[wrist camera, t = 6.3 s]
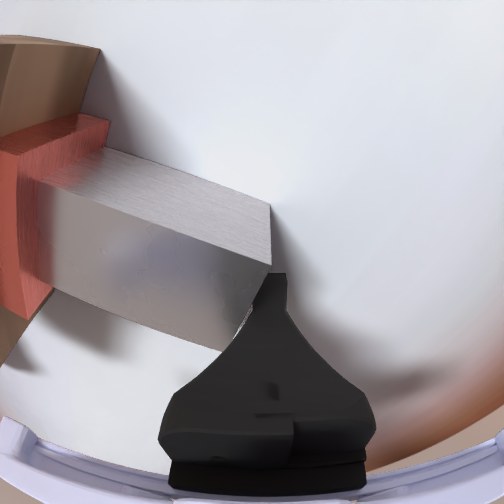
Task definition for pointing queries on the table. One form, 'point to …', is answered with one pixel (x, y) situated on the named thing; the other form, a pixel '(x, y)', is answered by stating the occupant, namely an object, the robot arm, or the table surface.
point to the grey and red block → (126, 234)
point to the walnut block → (37, 111)
